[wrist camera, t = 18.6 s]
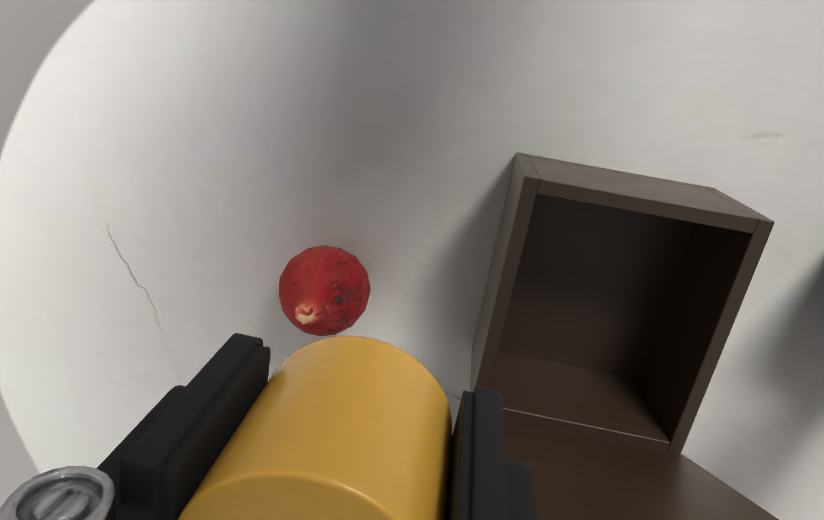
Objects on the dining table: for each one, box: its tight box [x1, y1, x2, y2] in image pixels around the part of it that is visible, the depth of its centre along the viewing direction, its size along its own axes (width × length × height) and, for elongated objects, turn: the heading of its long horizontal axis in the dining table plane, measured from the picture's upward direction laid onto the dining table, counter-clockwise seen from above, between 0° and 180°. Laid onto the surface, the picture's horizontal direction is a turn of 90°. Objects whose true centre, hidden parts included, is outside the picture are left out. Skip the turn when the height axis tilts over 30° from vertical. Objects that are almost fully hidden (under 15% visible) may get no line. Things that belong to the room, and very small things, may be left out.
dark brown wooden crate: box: [470, 153, 774, 454], centre depth 35 cm, size 15×13×8 cm
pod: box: [177, 336, 453, 520], centre depth 10 cm, size 4×4×4 cm
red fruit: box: [279, 246, 370, 336], centre depth 36 cm, size 6×6×8 cm
